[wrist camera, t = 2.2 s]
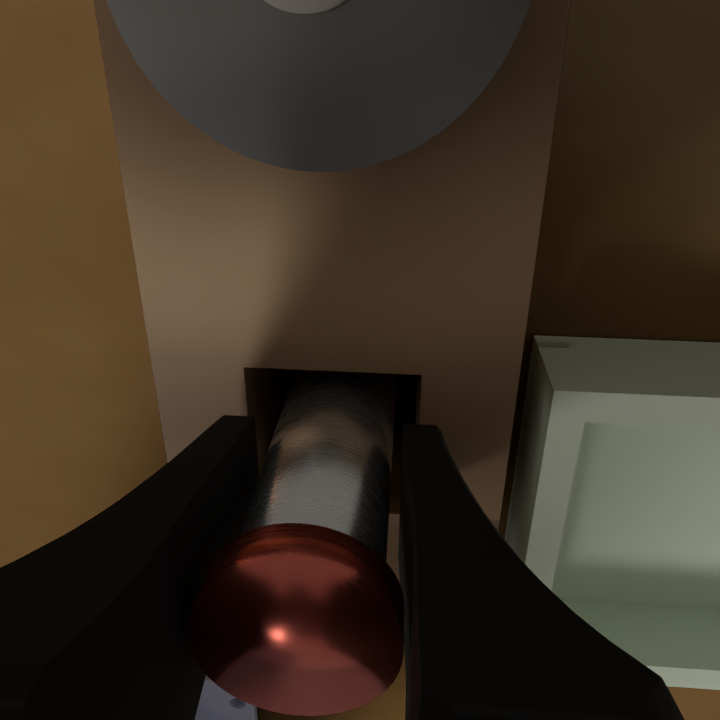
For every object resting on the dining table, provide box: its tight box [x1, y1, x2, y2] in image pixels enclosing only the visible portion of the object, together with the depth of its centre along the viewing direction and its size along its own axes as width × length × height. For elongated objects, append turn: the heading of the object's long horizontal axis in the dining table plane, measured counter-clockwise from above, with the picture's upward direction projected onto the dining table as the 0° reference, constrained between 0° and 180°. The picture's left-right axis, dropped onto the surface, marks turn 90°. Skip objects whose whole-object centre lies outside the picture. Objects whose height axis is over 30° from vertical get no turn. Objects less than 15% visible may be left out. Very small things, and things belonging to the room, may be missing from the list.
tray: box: [504, 335, 720, 690], centre depth 16 cm, size 8×8×2 cm
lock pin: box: [186, 370, 404, 716], centre depth 13 cm, size 3×3×8 cm
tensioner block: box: [94, 0, 571, 583], centre depth 12 cm, size 16×7×5 cm, turn 0°
